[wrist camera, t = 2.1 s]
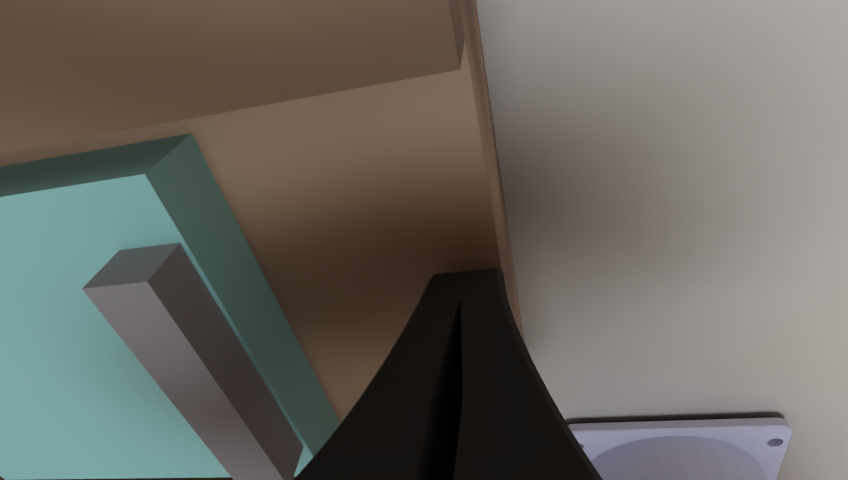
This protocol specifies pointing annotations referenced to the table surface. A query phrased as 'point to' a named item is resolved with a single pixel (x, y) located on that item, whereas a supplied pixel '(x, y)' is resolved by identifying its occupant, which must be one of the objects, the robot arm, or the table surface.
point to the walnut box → (289, 142)
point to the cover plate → (143, 327)
